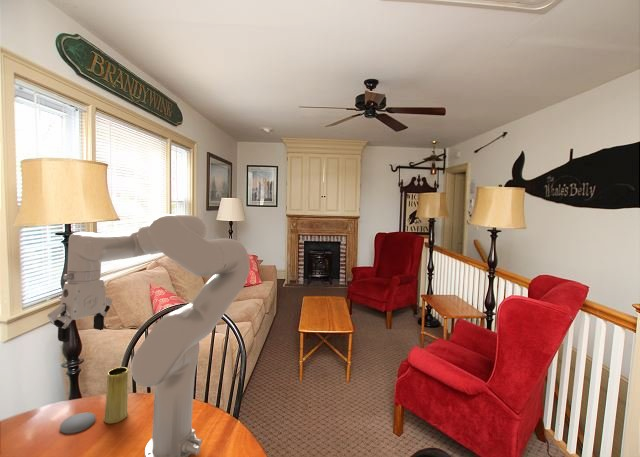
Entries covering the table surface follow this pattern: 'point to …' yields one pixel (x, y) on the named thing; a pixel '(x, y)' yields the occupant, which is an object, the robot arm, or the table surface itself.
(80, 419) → the coaster
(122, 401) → the vase
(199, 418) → the table surface
